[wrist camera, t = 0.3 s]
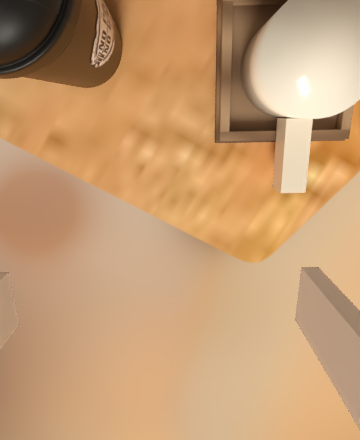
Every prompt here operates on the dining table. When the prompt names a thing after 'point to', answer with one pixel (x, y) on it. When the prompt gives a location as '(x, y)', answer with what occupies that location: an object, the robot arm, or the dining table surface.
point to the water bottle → (59, 41)
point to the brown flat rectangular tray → (232, 86)
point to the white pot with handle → (303, 76)
